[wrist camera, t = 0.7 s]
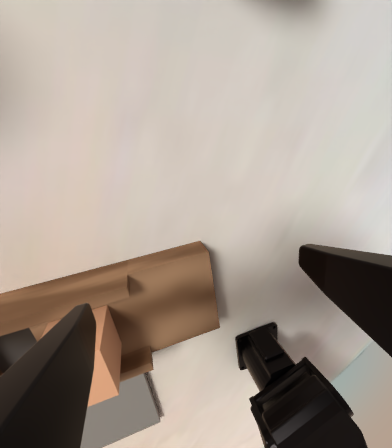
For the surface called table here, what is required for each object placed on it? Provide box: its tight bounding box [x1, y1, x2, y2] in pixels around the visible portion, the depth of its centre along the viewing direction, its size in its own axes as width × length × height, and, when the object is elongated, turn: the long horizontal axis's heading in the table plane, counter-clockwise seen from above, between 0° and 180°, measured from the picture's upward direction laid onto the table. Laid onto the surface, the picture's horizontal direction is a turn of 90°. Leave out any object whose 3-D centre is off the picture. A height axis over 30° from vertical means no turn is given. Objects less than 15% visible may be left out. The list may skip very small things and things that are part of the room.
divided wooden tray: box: [0, 241, 220, 382], centre depth 21 cm, size 10×25×5 cm, turn 99°
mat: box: [80, 373, 160, 448], centre depth 27 cm, size 12×12×1 cm
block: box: [41, 305, 122, 407], centre depth 18 cm, size 5×5×5 cm
